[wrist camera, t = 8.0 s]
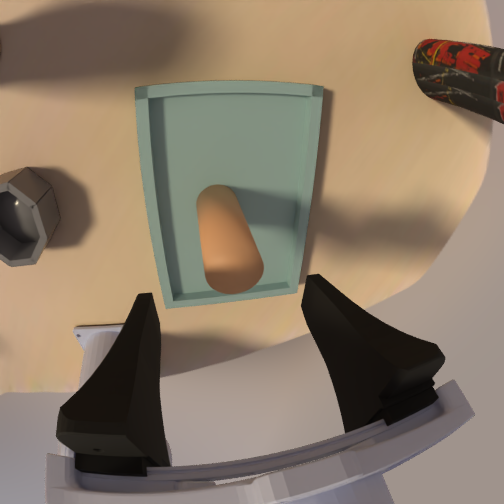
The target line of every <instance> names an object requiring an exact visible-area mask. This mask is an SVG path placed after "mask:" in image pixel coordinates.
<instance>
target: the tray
mask: <svg viewBox="0 0 504 504" xmlns="http://www.w3.org/2000/svg"><path fill="white" fill-rule="evenodd" d="M323 87H324V86H318V85H311V84H301V83H290V82H275V81H250V80H218V81H193V82H179V83H167V84H158V85H149V86H141V87H136V88H135V105H136V121H137V134H138V145H139V155H140V164H141V173H142V181H143V189H144V196H145V203H146V210H147V216H148V222H149V229H150V234H151V240H152V246H153V251H154V256H155V261H156V266H157V271H158V276H159V281H160V285H161V290H162V294H163V299H164V303H165V307H166V309H169V308H179V307H189V306H199V305H208V304H217V303H225V302H234V301H242V300H250V299H258V298H265V297H273V296H280V295H287V294H294V293H297V290H298V284H299V278H300V272H301V266H302V260H303V254H304V247H305V241H306V234H307V228H308V221H309V214H310V207H311V199H312V192H313V184H314V176H315V168H316V159H317V151H318V141H319V132H320V122H321V111H322V100H323ZM217 184H219V185H225V186H227V187H229V188H230V189H232V190H233V192H234V193H235V195H236V197H237V200H238V202H239V204H240V207H241V209H242V212H243V214H244V216H245V219H246V221H247V224H248V226H249V229H250V231H251V233H252V236H253V238H254V241H255V243H256V246H257V248H258V250H259V253H260V255H261V258H262V260H263V263H264V272H263V275H262V277H261V279H260V280H259V282H258V283H257V284H256V285H255V286H253V287H252V288H251V289H249V290H247V291H245V292H242V293H238V294H224V293H220V292H218V291H215V290H214V289H212V288H211V287H210V286H209V284H208V283H207V281H206V278H205V272H204V265H203V257H202V250H201V242H200V234H199V225H198V216H197V207H196V201H197V198H198V196H199V194H200V193H201V191H203V190H204V189H205V188H207V187H209V186H211V185H217Z"/></svg>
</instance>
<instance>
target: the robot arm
mask: <svg viewBox="0 0 504 504" xmlns="http://www.w3.org/2000/svg"><path fill="white" fill-rule="evenodd" d="M301 308H302V311H303V314H304V317H305V320H306V323H307V325H308V328H309V330H310V332H311V334H312V336H313V338H314V340H315V342H316V344H317V346H318V348H319V350H320V352H321V354H322V357H323V358H324V361H325V363H326V366H327V368H328V371H329V374H330V377H331V380H332V383H333V386H334V390H335V393H336V396H337V400H338V404H339V407H340V412H341V416H342V420H343V425H344V430H345V434H342V435H339V436H336V437H333V438H330V439H327V440H323V441H320V442H317V443H313V444H310V445H306V446H302V447H299V448H295V449H291V450H287V451H282V452H278V453H274V454H269V455H264V456H259V457H254V458H248V459H242V460H235V461H228V462H221V463H212V464H202V465H191V466H176V467H175V466H174V467H172V454H171V449H170V446H169V444H168V442H167V440H166V438H165V433H164V426H163V419H162V411H161V401H160V384H159V383H160V356H161V332H160V322H159V318H158V314H157V311H156V307H155V303H154V299H153V295H152V293H141V294H138V295H137V297H136V300H135V302H134V304H133V307H132V309H131V311H130V313H129V315H128V317H127V319H126V321H125V323H124V325H109V326H90V327H74V329H73V333H74V335H75V337H76V338H77V340H78V342H79V343H80V345H81V347H82V348H83V350H84V356H83V361H82V367H81V374H80V380H79V388H78V391H77V392H76V393H75V394H74V395H73V396H72V397H71V398H70V399H69V400H68V401H67V402H66V403H65V404H64V405H62V406H61V407H60V411H59V415H58V421H57V430H56V437H57V439H58V455H55V454H50V453H48V454H46V468H45V503H46V504H394V502H393V499H392V497H391V494H390V492H389V490H388V488H387V485H386V483H385V480H384V478H383V476H382V474H383V473H385V472H387V471H389V470H391V469H393V468H395V467H397V466H399V465H401V464H402V463H404V462H406V461H408V460H410V459H412V458H413V457H415V456H417V455H419V454H420V453H422V452H424V451H425V450H427V449H429V448H430V447H432V446H433V445H435V444H437V443H438V442H440V441H441V440H443V439H444V438H446V437H448V436H449V435H450V434H452V433H453V432H454V431H456V430H457V429H458V428H460V427H461V426H462V425H463V424H465V423H466V422H467V421H469V420H470V419H471V418H472V417H474V416H475V413H474V411H473V410H472V408H471V406H470V404H469V403H468V401H467V399H466V398H465V396H464V394H463V393H462V391H461V389H460V388H459V386H458V385H457V383H456V381H455V380H451V381H449V382H447V383H446V384H444V385H442V386H440V387H439V388H438V389H436V390H434V388H433V386H434V384H435V382H434V381H433V379H432V377H433V376H434V375H435V374H436V373H437V372H438V370H439V369H440V368H441V367H442V365H443V364H444V362H445V356H444V355H443V353H442V352H441V350H440V349H439V347H438V346H437V345H436V344H434V343H431V342H428V341H425V340H421V339H419V338H416V337H413V336H411V335H408V334H406V333H404V332H401V331H399V330H397V329H395V328H393V327H391V326H389V325H388V324H385V323H384V322H382V321H381V320H379V319H377V318H376V317H374V316H372V315H371V314H369V313H368V312H366V311H365V310H364V309H362V308H361V307H359V306H358V305H357V304H355V303H354V302H353V301H351V300H350V299H349V298H348V297H346V296H345V295H344V294H343V293H341V292H340V291H339V290H338V289H337V288H335V287H334V286H333V285H332V284H331V283H329V282H328V281H327V280H326V279H325V278H323V277H322V276H321V275H320V274H314V275H307V278H306V284H305V289H304V294H303V299H302V303H301ZM339 452H340V453H339ZM336 453H337V454H336ZM333 454H334V455H333ZM330 455H331V456H330ZM327 456H328V457H327ZM324 457H325V458H324ZM321 458H322V459H321ZM314 460H315V461H314ZM311 461H312V462H311ZM307 462H308V463H307ZM304 463H305V464H304ZM300 464H301V465H300ZM296 465H297V466H296ZM292 466H293V467H292ZM288 467H289V468H288ZM284 468H285V469H284ZM280 469H281V470H280ZM276 470H277V471H276ZM271 471H274V472H271ZM266 472H270V473H266ZM261 473H266V474H264V475H261V476H258V477H254V478H250V479H245V480H241V481H236V482H231V483H225V484H220V485H216V484H215V482H213V481H215V480H224V479H232V478H238V477H245V476H250V475H256V474H261Z"/></svg>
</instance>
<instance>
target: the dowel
mask: <svg viewBox="0 0 504 504" xmlns="http://www.w3.org/2000/svg"><path fill="white" fill-rule="evenodd" d="M196 207H197V216H198V225H199V234H200V242H201V250H202V257H203V265H204V272H205V278H206V281H207V283H208V284H209V286H210V287H211V288H212V289H214V290H215V291H218V292H220V293H224V294H238V293H242V292H245V291H247V290H249V289H251V288H252V287H253V286H255V285H256V284H257V283H258V282H259V280H260V279H261V277H262V275H263V272H264V263H263V260H262V258H261V255H260V253H259V250H258V248H257V246H256V243H255V241H254V238H253V236H252V233H251V231H250V229H249V226H248V224H247V221H246V219H245V216H244V214H243V212H242V209H241V207H240V204H239V202H238V200H237V197H236V195H235V193H234V192H233V190H232V189H230V188H229V187H227V186H225V185H219V184H217V185H211V186H209V187H207V188H205V189H204V190H203V191H201V193H200V194H199V196H198V198H197V201H196Z"/></svg>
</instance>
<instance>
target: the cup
mask: <svg viewBox="0 0 504 504" xmlns="http://www.w3.org/2000/svg"><path fill="white" fill-rule="evenodd" d="M59 221H60V215H59V211H58V208H57V204H56V200H55V196H54V192H53V188H52V187H51V185H50V184H48V183H47V182H46V181H44V180H43V179H42V178H40V177H39V176H38V175H36V174H35V173H34V172H32V171H31V170H30V169H29V168H26V167H25V168H21V169H18V170H14V171H11V172H7V173H4V174H1V175H0V260H2V261H3V262H4V263H6V264H7V265H8V266H11V267H16V266H25V265H34V264H36V263H37V261H38V259H39V258H40V256H41V254H42V252H43V251H44V249H45V247H46V245H47V244H48V242H49V240H50V238H51V236H52V234H53V232H54V230H55V228H56V227H57V225H58V223H59Z"/></svg>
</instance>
